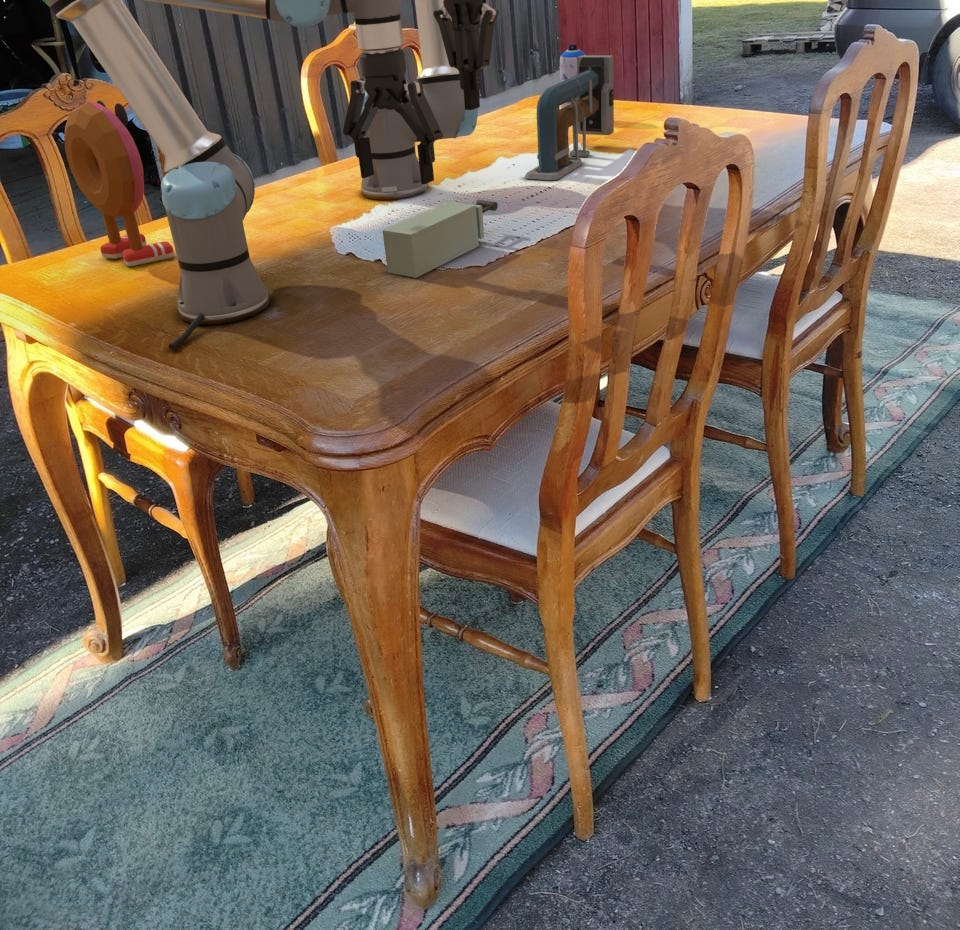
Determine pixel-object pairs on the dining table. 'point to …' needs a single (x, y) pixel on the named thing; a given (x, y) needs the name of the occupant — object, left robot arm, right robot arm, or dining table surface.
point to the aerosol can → (569, 65)
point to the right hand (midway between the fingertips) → (472, 108)
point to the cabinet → (430, 239)
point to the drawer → (480, 209)
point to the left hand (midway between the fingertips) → (397, 179)
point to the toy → (111, 178)
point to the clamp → (574, 116)
